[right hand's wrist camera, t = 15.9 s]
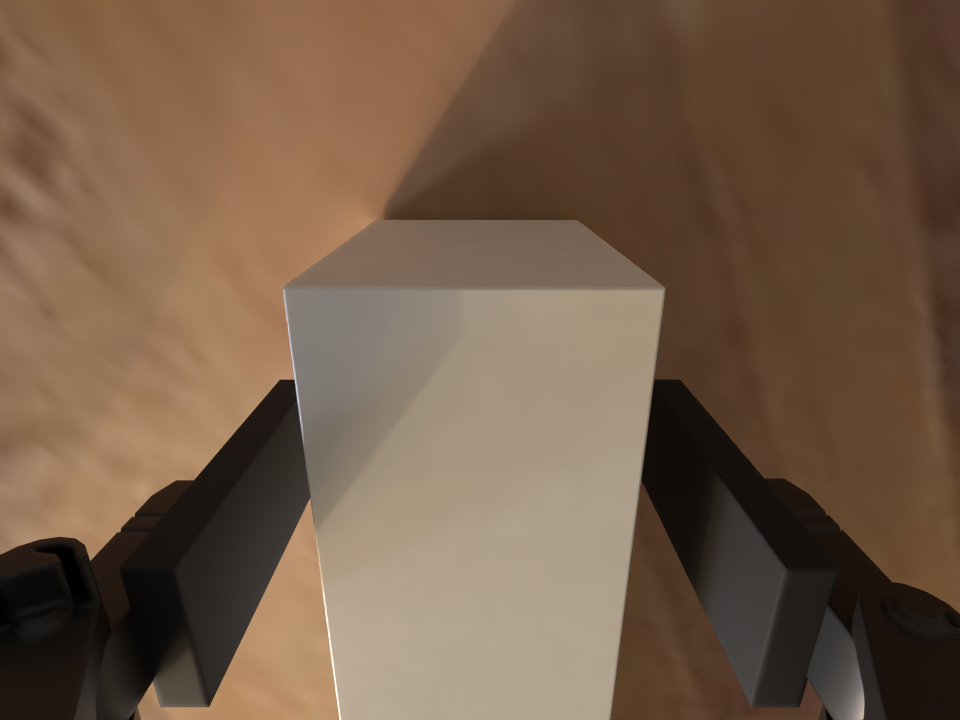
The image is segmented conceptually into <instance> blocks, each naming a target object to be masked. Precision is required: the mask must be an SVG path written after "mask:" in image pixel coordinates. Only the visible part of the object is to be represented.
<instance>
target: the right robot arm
mask: <svg viewBox="0 0 960 720" xmlns="http://www.w3.org/2000/svg"><path fill="white" fill-rule="evenodd" d="M641 480H642V482H643V484H644V486H645V489H646V491H647V493H648V495H649V497H650V499H651V501H652V503H653V505H654V507H655V509H656V511H657V513H658V515H659V518H660V520H661V522H662V524H663V526H664V528H665V530H666V532H667V534H668V536H669V538H670V540H671V542H672V544H673V547H674V549H675V551H676V553H677V555H678V557H679V559H680V561H681V563H682V565H683V567H684V569H685V571H686V573H687V576H688V578H689V580H690V582H691V584H692V586H693V588H694V590H695V592H696V594H697V596H698V598H699V600H700V603H701V605H702V607H703V609H704V611H705V613H706V615H707V617H708V619H709V621H710V623H711V625H712V627H713V629H714V632H715V634H716V636H717V638H718V640H719V642H720V644H721V646H722V648H723V650H724V652H725V654H726V656H727V658H728V661H729V663H730V665H731V667H732V669H733V671H734V673H735V675H736V677H737V679H738V681H739V683H740V685H741V687H742V690H743V692H744V694H745V696H746V698H747V700H748V702H749V704H750V706H751V707H800V704H801V700H802V697H803V694H804V690H805V687H806V684H807V680H809V681H810V683H811V685H812V686H813V688H814V690H815V691H816V693H817V694H818V696H819V698H820V699H821V701H822V703H823V707H822V710H821V714H820V717H819V720H960V614H959V613H958V612H957V611H956V610H954V609H953V608H952V607H951V606H950V605H948V604H947V603H945V602H944V601H942V600H940V599H938V598H936V597H935V596H933V595H931V594H929V593H927V592H925V591H922V590H920V589H917V588H914V587H911V586H908V585H906V584H901V583H894V582H891V581H890V580H889V579H888V577H887V576H886V575H885V574H884V573H883V572H882V571H881V570H880V569H879V568H878V567H877V566H876V565H875V564H874V563H873V562H872V560H871V559H870V558H869V557H868V556H867V555H866V554H865V553H864V552H863V551H862V550H861V549H860V548H859V547H858V546H857V545H856V544H855V542H854V541H853V540H852V539H851V538H850V537H849V536H848V535H847V534H846V533H845V532H844V531H840V527H839V526H838V524H837V523H836V522H835V521H834V520H833V519H832V518H831V517H830V516H829V515H826V513H825V511H824V510H823V509H822V508H821V506H820V505H819V504H818V503H817V502H816V501H815V500H814V499H813V498H812V497H811V496H810V495H809V494H808V493H806V492H805V491H803V490H802V489H800V488H798V487H797V486H795V485H793V484H792V483H790V482H789V481H787V480H785V479H764V478H763V476H762V475H761V474H760V473H759V472H758V471H757V469H756V468H755V467H754V466H753V465H752V464H751V462H750V461H749V460H748V459H747V458H746V456H745V455H744V454H743V453H742V452H741V451H740V449H739V448H738V447H737V446H736V445H735V444H734V442H733V441H732V440H731V439H730V438H729V437H728V435H727V434H726V433H725V432H724V431H723V430H722V428H721V427H720V426H719V425H718V424H717V423H716V421H715V420H714V419H713V418H712V417H711V415H710V414H709V413H708V412H707V411H706V410H705V408H704V407H703V406H702V405H701V404H700V403H699V401H698V400H697V399H696V398H695V397H694V396H693V394H692V393H691V392H690V391H689V390H688V389H687V387H686V386H685V385H684V384H683V383H682V382H681V380H654V384H653V392H652V400H651V407H650V415H649V423H648V431H647V439H646V446H645V454H644V462H643V470H642V478H641ZM309 499H310V491H309V484H308V476H307V469H306V461H305V454H304V446H303V438H302V431H301V423H300V416H299V408H298V401H297V393H296V385H295V380H279V382H278V383H277V384H276V385H275V386H274V387H273V389H272V390H271V391H270V392H269V393H268V394H267V396H266V397H265V398H264V399H263V400H262V401H261V403H260V404H259V405H258V406H257V407H256V408H255V410H254V411H253V412H252V413H251V414H250V415H249V417H248V418H247V419H246V420H245V421H244V423H243V424H242V425H241V426H240V427H239V428H238V430H237V431H236V432H235V433H234V434H233V435H232V437H231V438H230V439H229V440H228V441H227V442H226V444H225V445H224V446H223V447H222V448H221V449H220V451H219V452H218V453H217V454H216V455H215V456H214V458H213V459H212V460H211V461H210V462H209V464H208V465H207V466H206V467H205V468H204V469H203V471H202V472H201V473H200V474H199V475H198V476H197V478H196V479H195V480H176V481H175V482H173V483H171V484H170V485H168V486H167V487H165V488H163V489H162V490H160V491H159V492H157V493H155V494H154V495H152V496H151V497H150V498H149V499H148V500H147V501H146V502H145V503H144V505H143V506H142V507H141V508H140V509H139V510H138V511H137V512H136V513H135V517H131V518H130V519H129V521H128V522H127V523H126V524H125V525H124V526H123V527H122V528H121V532H117V533H116V534H115V536H114V537H113V538H112V539H111V540H110V541H109V542H108V543H107V544H106V545H105V546H104V547H103V548H102V549H101V550H100V552H99V553H98V554H97V555H96V556H95V557H94V558H93V559H92V560H91V561H90V559H89V556H88V553H87V550H86V547H85V545H84V544H83V543H81V542H80V541H78V540H77V539H74V538H65V537H56V538H49V539H41V540H37V541H34V542H31V543H28V544H25V545H21V546H18V547H16V548H14V549H12V550H10V551H8V552H5V553H3V554H1V555H0V720H141V718H140V714H139V710H138V707H137V706H138V704H139V702H140V701H141V699H142V697H143V696H144V694H145V693H146V691H147V689H148V688H149V686H150V684H151V683H152V681H153V684H154V687H155V690H156V694H157V697H158V700H159V704H160V707H209V706H210V704H211V702H212V700H213V698H214V696H215V694H216V692H217V690H218V687H219V685H220V683H221V681H222V679H223V677H224V675H225V673H226V671H227V669H228V667H229V665H230V663H231V661H232V658H233V656H234V654H235V652H236V650H237V648H238V646H239V644H240V642H241V640H242V638H243V636H244V634H245V632H246V629H247V627H248V625H249V623H250V621H251V619H252V617H253V615H254V613H255V611H256V609H257V607H258V605H259V602H260V600H261V598H262V596H263V594H264V592H265V590H266V588H267V586H268V584H269V582H270V580H271V578H272V576H273V573H274V571H275V569H276V567H277V565H278V563H279V561H280V559H281V557H282V555H283V553H284V551H285V549H286V547H287V544H288V542H289V540H290V538H291V536H292V534H293V532H294V530H295V528H296V526H297V524H298V522H299V520H300V518H301V515H302V513H303V511H304V509H305V507H306V505H307V503H308V501H309Z"/></svg>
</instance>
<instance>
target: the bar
mask: <svg viewBox="0 0 960 720" xmlns="http://www.w3.org/2000/svg"><path fill="white" fill-rule="evenodd" d="M283 295H284V302H285V310H286V317H287V325H288V332H289V340H290V348H291V355H292V363H293V370H294V378H295V385H296V393H297V401H298V408H299V416H300V423H301V431H302V438H303V446H304V454H305V461H306V469H307V476H308V484H309V491H310V499H311V507H312V514H313V522H314V529H315V537H316V544H317V552H318V559H319V567H320V575H321V582H322V590H323V597H324V605H325V612H326V620H327V628H328V635H329V643H330V650H331V658H332V665H333V673H334V681H335V688H336V696H337V703H338V711H339V718H340V720H611V713H612V705H613V697H614V689H615V681H616V673H617V666H618V658H619V650H620V642H621V634H622V627H623V619H624V611H625V603H626V595H627V587H628V580H629V572H630V564H631V556H632V548H633V540H634V533H635V525H636V517H637V509H638V501H639V493H640V486H641V478H642V470H643V462H644V454H645V446H646V439H647V431H648V423H649V415H650V407H651V400H652V392H653V384H654V376H655V368H656V360H657V353H658V345H659V337H660V329H661V321H662V313H663V306H664V298H665V287H664V286H662V285H661V284H660V283H658V282H657V281H656V280H655V279H653V278H652V277H651V276H649V275H648V274H647V273H645V272H644V271H643V270H642V269H640V268H639V267H638V266H636V265H635V264H634V263H632V262H631V261H630V260H629V259H627V258H626V257H625V256H623V255H622V254H621V253H619V252H618V251H617V250H616V249H614V248H613V247H612V246H610V245H609V244H608V243H606V242H605V241H604V240H603V239H601V238H600V237H599V236H597V235H596V234H595V233H594V232H592V231H591V230H590V229H588V228H587V227H586V226H584V225H583V224H582V223H581V222H579V221H578V220H376V221H374V222H373V223H371V224H370V225H369V226H367V227H366V228H365V229H363V230H362V231H360V232H359V233H358V234H356V235H355V236H353V237H352V238H351V239H349V240H348V241H346V242H345V243H344V244H342V245H341V246H339V247H338V248H337V249H335V250H334V251H332V252H331V253H330V254H328V255H327V256H326V257H324V258H323V259H321V260H320V261H319V262H317V263H316V264H314V265H313V266H312V267H310V268H309V269H307V270H306V271H305V272H303V273H302V274H300V275H299V276H298V277H296V278H295V279H293V280H292V281H291V282H289V283H288V284H287V285H285V286H284V287H283Z"/></svg>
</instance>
